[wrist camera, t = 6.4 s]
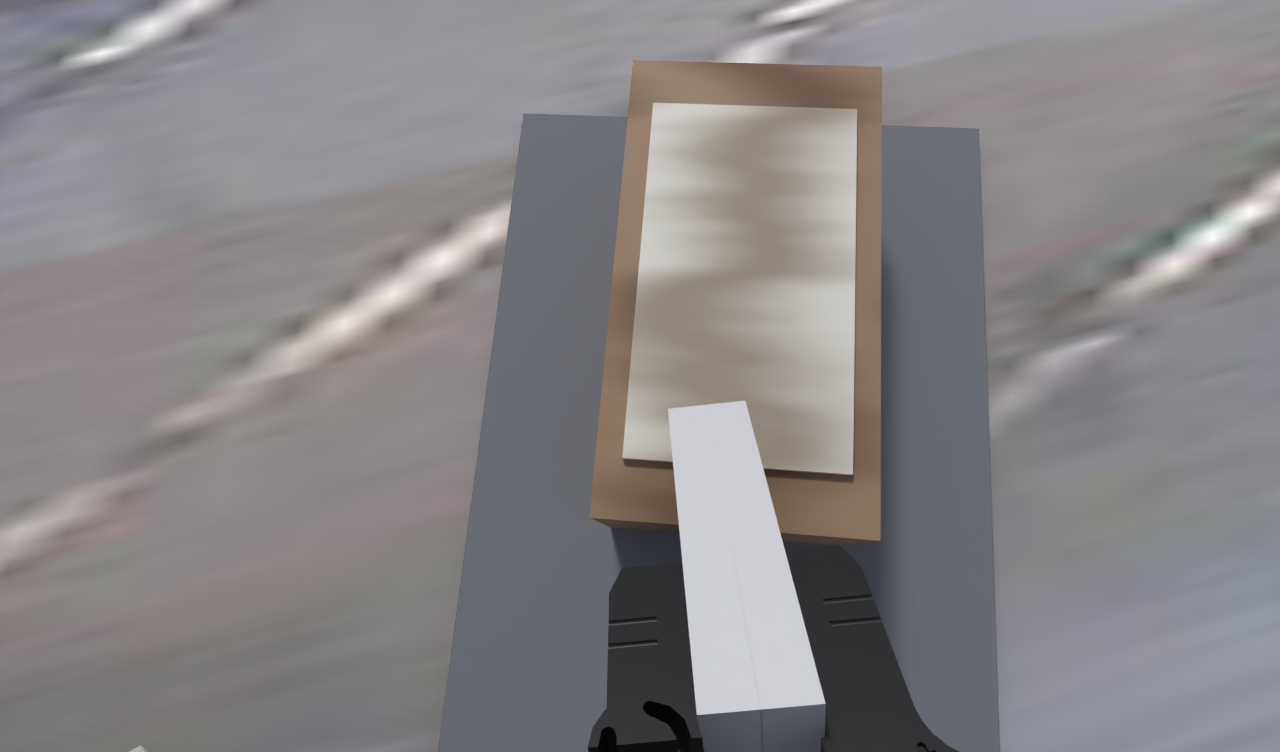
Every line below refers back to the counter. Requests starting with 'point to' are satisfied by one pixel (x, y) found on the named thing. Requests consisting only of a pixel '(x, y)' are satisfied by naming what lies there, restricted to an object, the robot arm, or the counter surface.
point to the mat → (595, 554)
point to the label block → (749, 289)
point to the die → (139, 749)
